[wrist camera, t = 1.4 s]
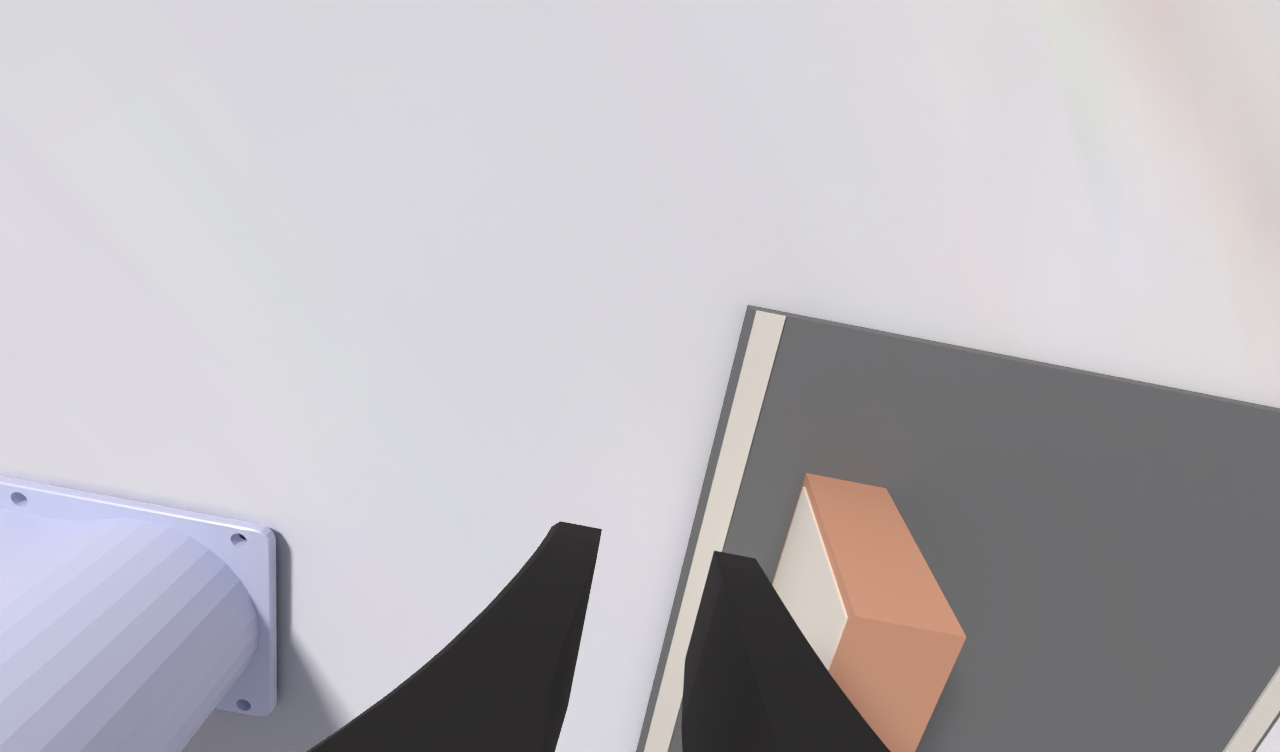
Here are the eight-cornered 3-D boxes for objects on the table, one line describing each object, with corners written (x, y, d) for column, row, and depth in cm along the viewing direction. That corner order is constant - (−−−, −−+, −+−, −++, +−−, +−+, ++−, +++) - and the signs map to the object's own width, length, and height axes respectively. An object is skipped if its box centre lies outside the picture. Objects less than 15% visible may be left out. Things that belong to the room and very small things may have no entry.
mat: (631, 771, 26) (630, 782, 25) (747, 304, 19) (749, 309, 19) (1159, 868, 26) (1168, 881, 26) (1450, 441, 20) (1467, 449, 19)
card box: (733, 702, 24) (750, 893, 18) (804, 472, 21) (852, 615, 15) (804, 715, 24) (844, 909, 18) (886, 488, 21) (966, 636, 15)
